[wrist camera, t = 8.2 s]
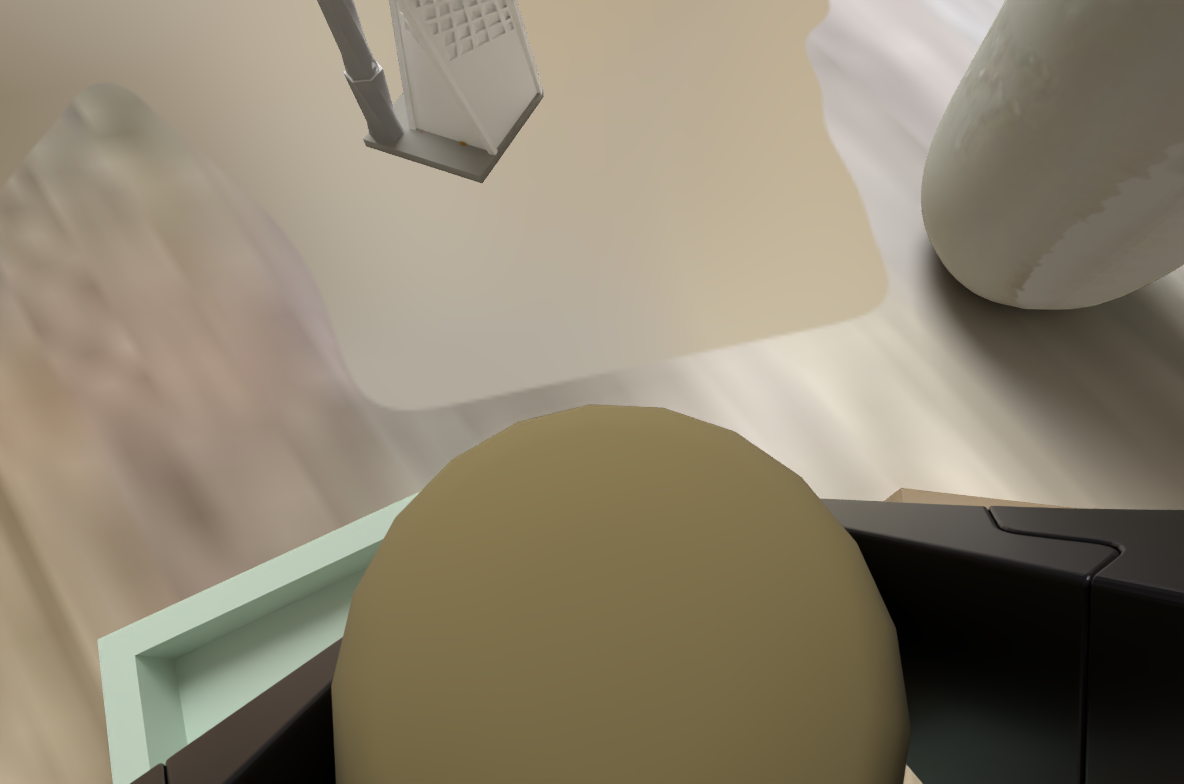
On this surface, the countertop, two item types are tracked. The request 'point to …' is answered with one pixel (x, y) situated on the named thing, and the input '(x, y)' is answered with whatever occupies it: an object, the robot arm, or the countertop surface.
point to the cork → (618, 620)
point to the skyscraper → (443, 80)
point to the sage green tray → (229, 644)
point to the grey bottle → (1063, 155)
